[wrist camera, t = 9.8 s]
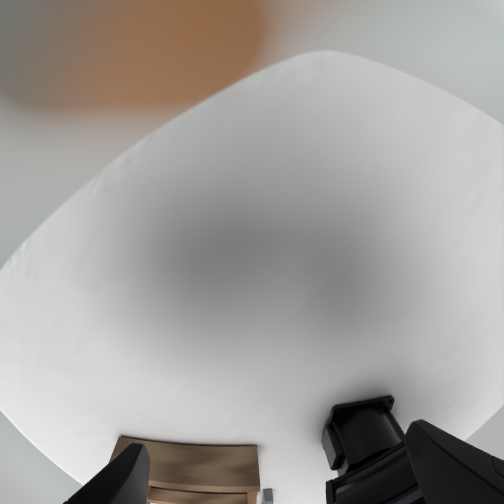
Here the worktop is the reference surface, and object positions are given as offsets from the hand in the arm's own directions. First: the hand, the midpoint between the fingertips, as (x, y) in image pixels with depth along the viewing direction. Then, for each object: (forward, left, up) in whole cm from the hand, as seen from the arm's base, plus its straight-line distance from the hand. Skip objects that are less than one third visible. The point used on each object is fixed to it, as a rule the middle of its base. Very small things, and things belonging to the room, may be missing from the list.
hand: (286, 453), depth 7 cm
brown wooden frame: (+7, +22, -13) cm, 26 cm away
